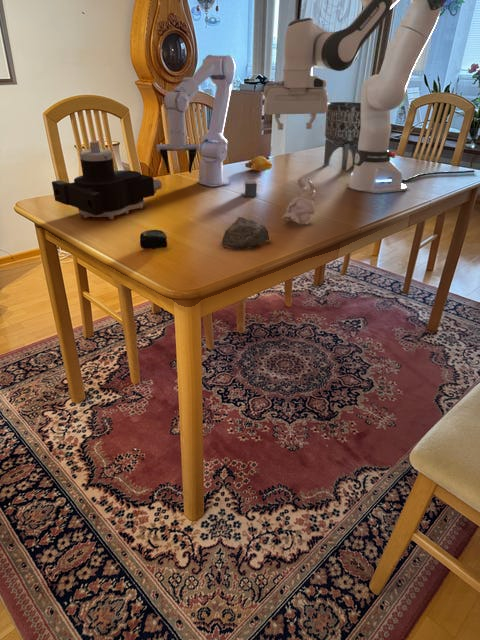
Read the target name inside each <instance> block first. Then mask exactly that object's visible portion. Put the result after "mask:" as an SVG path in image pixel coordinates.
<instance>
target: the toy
mask: <svg viewBox="0 0 480 640" xmlns="http://www.w3.org/2000/svg"><path fill="white" fill-rule="evenodd" d="M271 161H272V160H271V158H270V157H269V156H262V155H259V156H256V157H253V158H251V160H249V161H248V162H246V163H245V164H244V167H245V168H248V169H252V170H255V171H257V172H265V171H268V170H271V169H272V168H273V163H271Z"/></svg>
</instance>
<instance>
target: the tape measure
mask: <svg viewBox="0 0 480 640" xmlns="http://www.w3.org/2000/svg"><path fill="white" fill-rule="evenodd" d="M167 236H168V235H167V234H166V232H165V231H164V230H161V229H147V230H144V231H143V232H141V233H140V235H139V240H140V241H139V245H140V246H139V247H141V248H142V249H146V250H157V249H167V248H168V240H167V239H168V237H167Z"/></svg>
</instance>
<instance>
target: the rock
mask: <svg viewBox="0 0 480 640" xmlns="http://www.w3.org/2000/svg"><path fill="white" fill-rule="evenodd" d="M269 241H270V233H269V230H268V229H267V228H266V226H265V225H263V224H261V223H259V222H256V221H255V220H252V219H247V218H245V217H241V216H238V217H237V218H236V219H235V221H234V222H233V223H232V224H231V225H229V226H228V227H227V228H226V229H225V231H224V233H223V236H222V239H221V244H222V247H224V248H229V249H231V250H245V249H254V248H257V247H259V246H260V245H264V244H266V242H269Z"/></svg>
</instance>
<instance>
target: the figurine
mask: <svg viewBox="0 0 480 640" xmlns="http://www.w3.org/2000/svg"><path fill="white" fill-rule="evenodd" d="M296 184H297V186H298V188H299V189H300V196H296V197H294V198H292V199H291V200H290V202H289V204H288V205H287V207H286V212H285V213H284V214H283V215H282V217H281V220H282V221H284V220H285V221H286V222H292V223H295V224H296V223H297V224H298V225H309V220H310V217H311V215H312V216H313V215H314V214H315V210H316V207H315V203H314V201H315V200H316V191H315V189H316V186H315V183H314V182H313V181H311V179H308V184H309V187H306V180H304V179H303V178H302V177H299V178H298V179H297V183H296Z"/></svg>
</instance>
